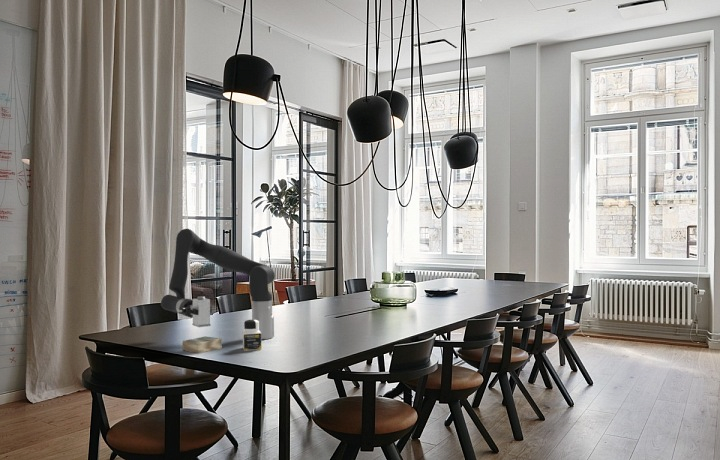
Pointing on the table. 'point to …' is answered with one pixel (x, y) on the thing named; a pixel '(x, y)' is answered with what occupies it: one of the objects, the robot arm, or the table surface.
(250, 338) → the medicine bottle
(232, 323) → the table surface
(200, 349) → the stand
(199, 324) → the housing
